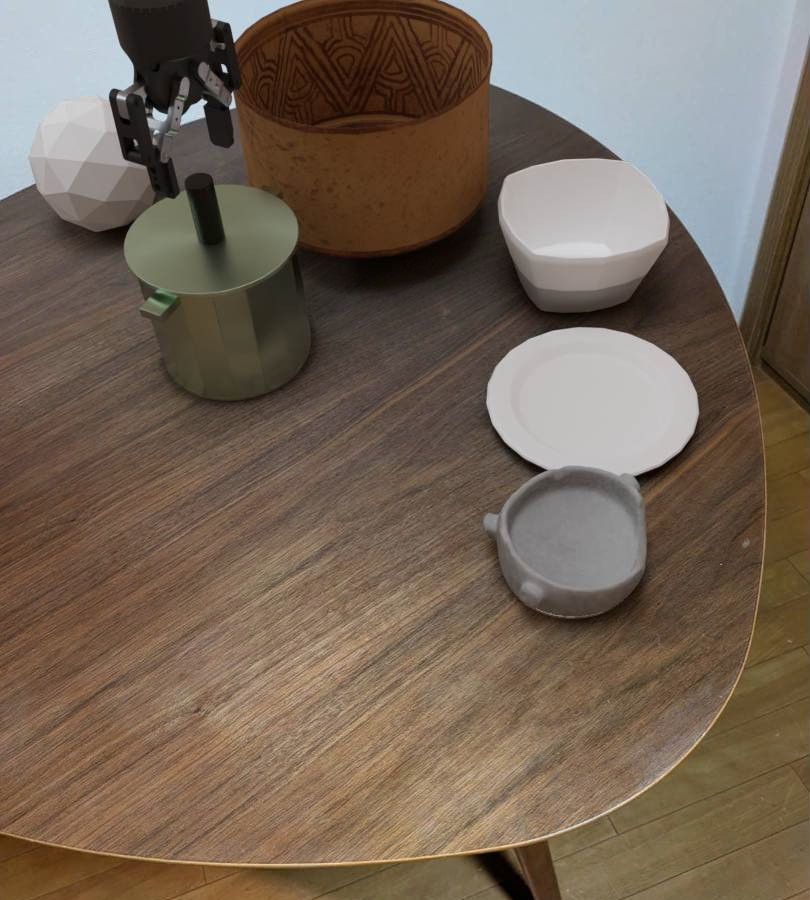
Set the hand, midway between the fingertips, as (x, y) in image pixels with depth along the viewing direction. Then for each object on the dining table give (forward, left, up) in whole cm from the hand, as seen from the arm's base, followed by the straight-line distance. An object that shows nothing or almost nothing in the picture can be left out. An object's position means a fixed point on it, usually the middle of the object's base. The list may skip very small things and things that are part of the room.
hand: (196, 169), depth 89 cm
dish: (+42, -10, -22) cm, 48 cm away
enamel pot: (0, 0, -21) cm, 21 cm away
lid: (0, 0, -8) cm, 8 cm away
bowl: (+28, +26, -22) cm, 44 cm away
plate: (+37, +8, -22) cm, 44 cm away
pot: (+2, +26, -22) cm, 34 cm away
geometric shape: (-27, +13, -22) cm, 37 cm away
